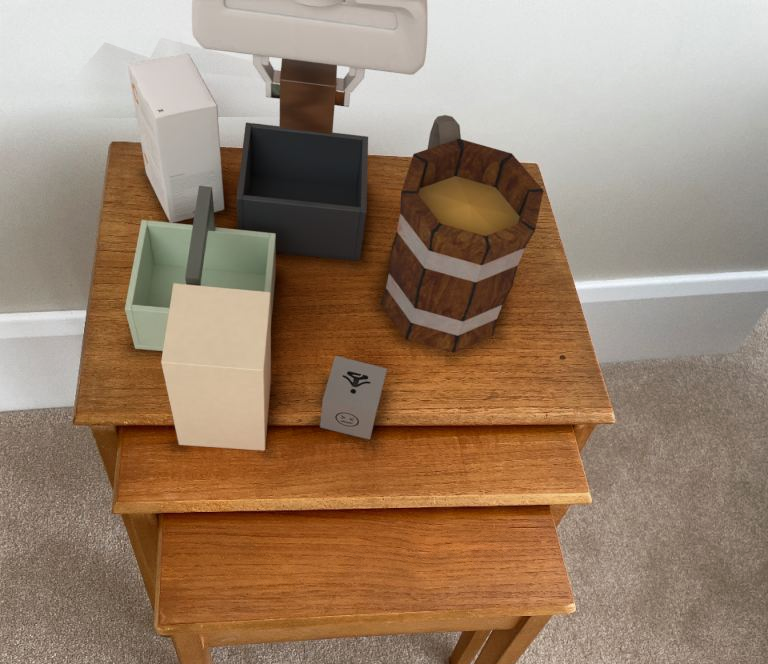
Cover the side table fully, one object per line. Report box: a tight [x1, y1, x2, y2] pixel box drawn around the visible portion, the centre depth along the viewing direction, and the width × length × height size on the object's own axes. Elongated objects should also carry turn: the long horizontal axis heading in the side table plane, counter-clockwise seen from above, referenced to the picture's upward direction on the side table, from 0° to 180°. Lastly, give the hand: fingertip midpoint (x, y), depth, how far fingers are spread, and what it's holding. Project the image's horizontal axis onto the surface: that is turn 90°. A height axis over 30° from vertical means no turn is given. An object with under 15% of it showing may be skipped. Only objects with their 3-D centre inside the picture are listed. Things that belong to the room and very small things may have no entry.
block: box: [278, 58, 338, 134], centre depth 73 cm, size 5×5×5 cm
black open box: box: [236, 122, 369, 262], centre depth 84 cm, size 13×11×7 cm
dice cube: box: [319, 355, 388, 440], centre depth 75 cm, size 5×5×5 cm
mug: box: [380, 114, 544, 353], centre depth 79 cm, size 20×14×15 cm
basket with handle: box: [124, 186, 277, 352], centre depth 75 cm, size 13×11×11 cm
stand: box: [160, 283, 272, 452], centre depth 69 cm, size 8×8×13 cm
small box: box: [127, 53, 225, 223], centre depth 80 cm, size 8×6×13 cm
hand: (308, 98), depth 74 cm, fingers closed on block, 5 cm apart
